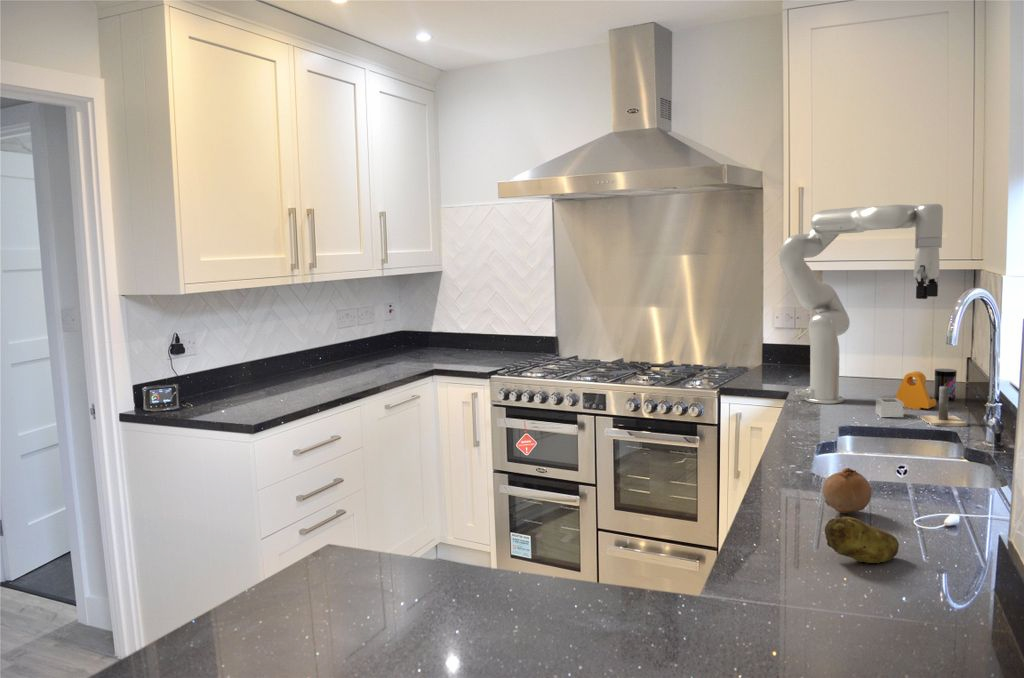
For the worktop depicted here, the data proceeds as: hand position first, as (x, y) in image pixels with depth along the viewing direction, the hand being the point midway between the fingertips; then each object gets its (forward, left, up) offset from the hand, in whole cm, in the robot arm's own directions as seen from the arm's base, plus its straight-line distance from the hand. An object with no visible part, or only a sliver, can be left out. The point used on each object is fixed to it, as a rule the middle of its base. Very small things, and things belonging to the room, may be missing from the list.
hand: (926, 297), depth 253 cm
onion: (-46, -101, -38) cm, 117 cm away
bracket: (0, +8, -38) cm, 39 cm away
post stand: (+1, -14, -37) cm, 40 cm away
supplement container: (+13, +20, -38) cm, 45 cm away
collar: (-12, -6, -37) cm, 40 cm away
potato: (-49, -126, -38) cm, 140 cm away
